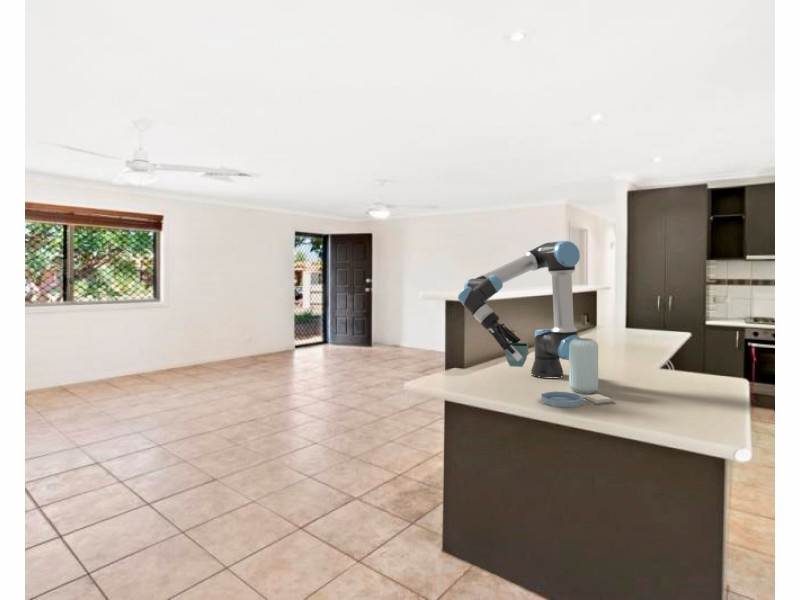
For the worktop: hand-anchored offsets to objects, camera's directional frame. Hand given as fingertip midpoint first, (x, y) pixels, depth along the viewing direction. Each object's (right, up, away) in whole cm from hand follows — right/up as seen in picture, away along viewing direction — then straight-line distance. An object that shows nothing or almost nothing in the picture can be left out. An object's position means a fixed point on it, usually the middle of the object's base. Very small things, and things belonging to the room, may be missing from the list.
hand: (524, 356), depth 194 cm
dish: (+13, -17, -8) cm, 22 cm away
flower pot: (-2, -4, +2) cm, 5 cm away
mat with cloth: (+27, -16, -8) cm, 32 cm away
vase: (+27, -16, +8) cm, 32 cm away
